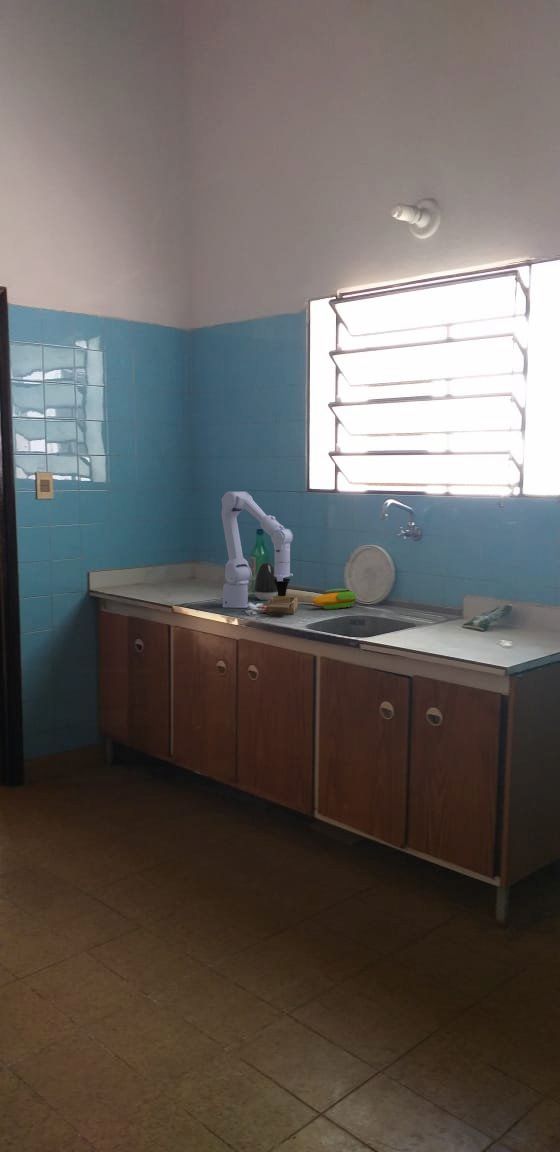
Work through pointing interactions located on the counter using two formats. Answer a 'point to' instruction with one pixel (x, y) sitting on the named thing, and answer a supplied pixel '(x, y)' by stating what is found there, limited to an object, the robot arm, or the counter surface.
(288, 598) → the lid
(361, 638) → the counter surface
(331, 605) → the corn
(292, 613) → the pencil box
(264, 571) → the dark grey egg shape
